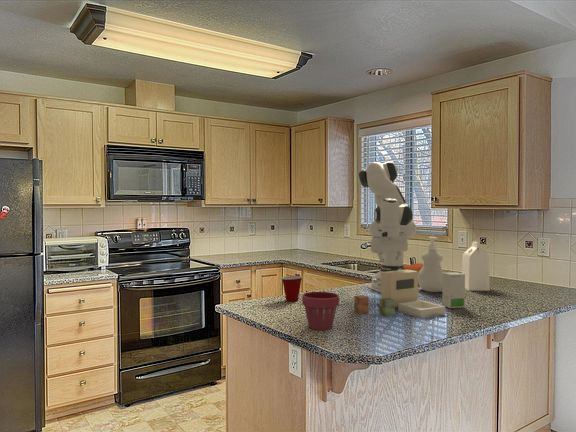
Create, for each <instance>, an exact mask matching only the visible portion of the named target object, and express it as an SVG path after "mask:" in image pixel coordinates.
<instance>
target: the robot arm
mask: <svg viewBox="0 0 576 432" xmlns="http://www.w3.org/2000/svg"><path fill="white" fill-rule="evenodd" d="M398 173H399V171H398V166H397V165H396V164H395V163H394V162H393V161H386V162H383V163H380V162H375V161H374V162H372V163H370V164H369V165H367V168H365V169H362V170H360V171H359V173H358V177H357V178H358V182H359V184H360V185H361V186H362V187H363V188H368V189H369V190H370V192H372V194H374V200H375V205H376V208H375V209H374V212H373V213H374V219H373V221H372V222H371V223H370V226H369V234H370V235H371V241H370V251H371V253H373V254H377V256H378V258H379V263H382V264H379V265H378V266H379V268H380V269H379V271H378V272H377V273H376V274H374V275H373V276H372V278H371V284H368V285H367V288H368V289H370V290H372V291H374V292H378V293H381V272H387V271H397V270H404V266H405V265H404V252H407V251H408V249H409V243H408V240H409V239H411V238H414V236H415V235H416V233H417V225H416V224H415V222H414V221H413V210H412V208H411V207H410V206H409V205H408V203H407V201H406V199H405V197H404V195H403V193H402V191H401V190H400V188H399V187H398V185H397V184H395V183H394V182H395V181H396V179H397V178H398Z"/></svg>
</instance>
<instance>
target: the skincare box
mask: <svg viewBox="0 0 576 432" xmlns="http://www.w3.org/2000/svg"><path fill="white" fill-rule="evenodd" d="M441 292H442V294H441V295H442V296H441V297H442V298H441V299H442V302H441V303H442V304H441V305H442V306H445V308H448V309H457V308H459V309H460V308H465V301H466V299H465V298H466V295H465V294H466V289H465V274H462V272H461V273H460V272H452V271H451V272H444V273H443V290H442V291H441Z"/></svg>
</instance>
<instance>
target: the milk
mask: <svg viewBox="0 0 576 432" xmlns="http://www.w3.org/2000/svg"><path fill="white" fill-rule="evenodd" d="M461 262H462V263H461V273H462V274H465V290H467V291H483V292H485V291H491V287H490V285H491V284H490V282H491V281H490V257H489V255H488V254H487V253H486V252H485V251H484V250H483V249H482V248H481V247H480V243H479V242H478V241H472V242H471V246H470V247H469V248H467V250H465V251H464V252H463V254H462V261H461Z"/></svg>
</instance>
